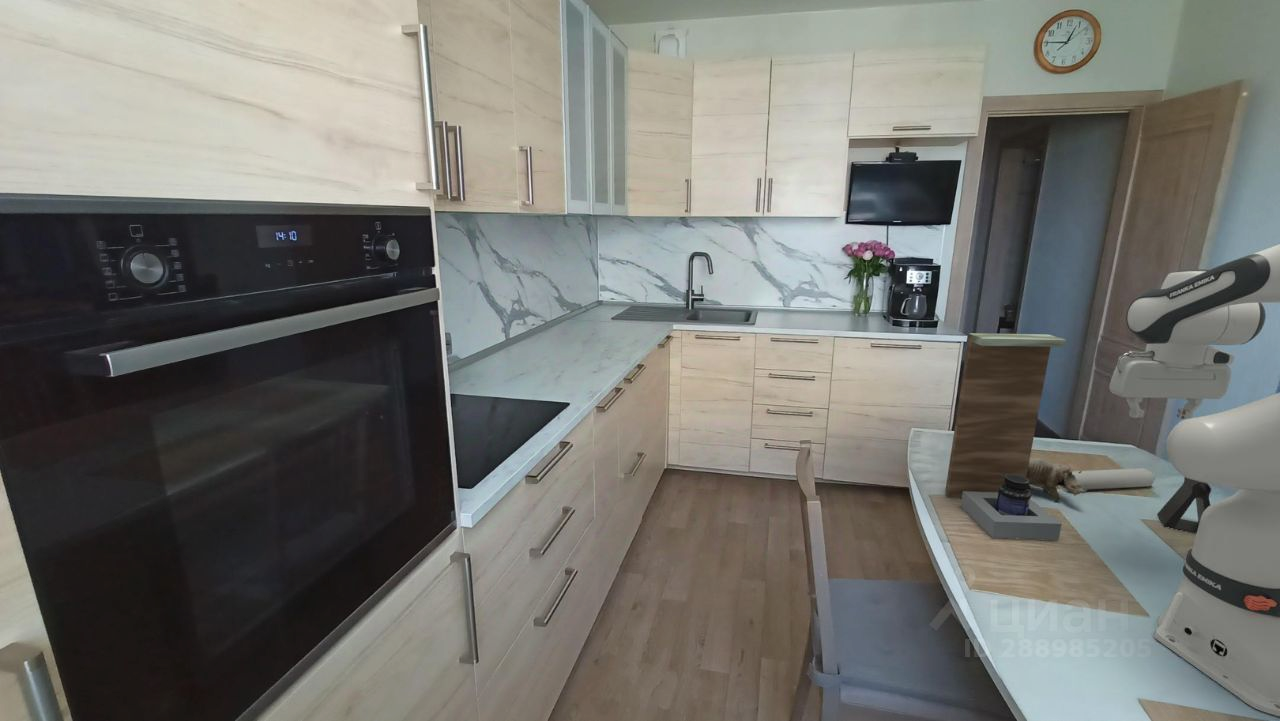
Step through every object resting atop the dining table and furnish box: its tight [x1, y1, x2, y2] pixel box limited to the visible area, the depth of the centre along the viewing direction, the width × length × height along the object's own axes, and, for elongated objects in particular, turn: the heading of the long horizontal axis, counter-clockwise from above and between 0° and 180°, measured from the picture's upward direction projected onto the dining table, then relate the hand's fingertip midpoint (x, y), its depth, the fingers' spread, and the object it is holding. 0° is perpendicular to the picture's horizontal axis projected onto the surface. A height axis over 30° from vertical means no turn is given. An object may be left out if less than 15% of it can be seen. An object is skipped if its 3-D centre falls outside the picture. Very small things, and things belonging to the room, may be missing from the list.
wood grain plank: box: [944, 332, 1067, 499], centre depth 134 cm, size 6×18×42 cm, turn 87°
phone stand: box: [1156, 477, 1212, 534], centre depth 127 cm, size 9×6×12 cm, turn 59°
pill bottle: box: [995, 474, 1032, 516], centre depth 128 cm, size 6×6×11 cm
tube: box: [1057, 467, 1156, 493], centre depth 147 cm, size 5×5×25 cm
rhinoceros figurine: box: [1026, 456, 1088, 503], centre depth 142 cm, size 8×14×15 cm
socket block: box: [960, 491, 1063, 541], centre depth 129 cm, size 14×14×4 cm
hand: (1159, 417), depth 115 cm, fingers open, 8 cm apart
